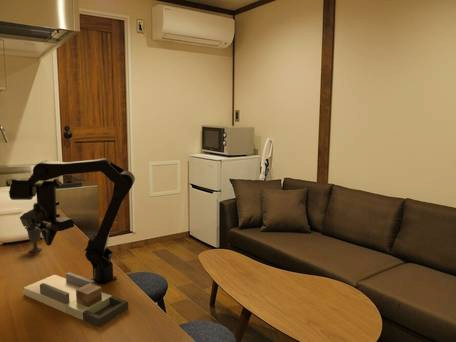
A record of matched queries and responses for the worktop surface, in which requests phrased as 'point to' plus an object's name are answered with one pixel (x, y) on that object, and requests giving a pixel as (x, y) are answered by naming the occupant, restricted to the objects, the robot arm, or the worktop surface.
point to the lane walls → (63, 295)
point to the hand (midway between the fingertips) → (48, 245)
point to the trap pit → (106, 312)
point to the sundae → (34, 238)
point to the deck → (73, 306)
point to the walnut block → (88, 295)
